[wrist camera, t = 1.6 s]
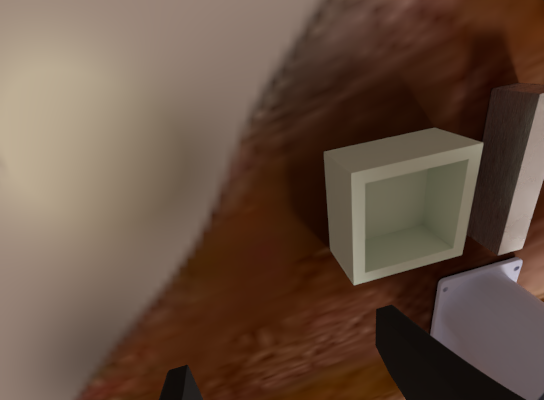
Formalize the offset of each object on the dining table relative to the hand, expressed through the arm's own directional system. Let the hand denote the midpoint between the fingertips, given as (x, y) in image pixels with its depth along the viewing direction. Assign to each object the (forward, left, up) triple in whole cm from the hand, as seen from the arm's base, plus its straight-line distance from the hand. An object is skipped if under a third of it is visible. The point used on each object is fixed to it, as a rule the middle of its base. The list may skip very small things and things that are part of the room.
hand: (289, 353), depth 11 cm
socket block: (0, -9, -10) cm, 13 cm away
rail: (0, -18, -9) cm, 20 cm away
